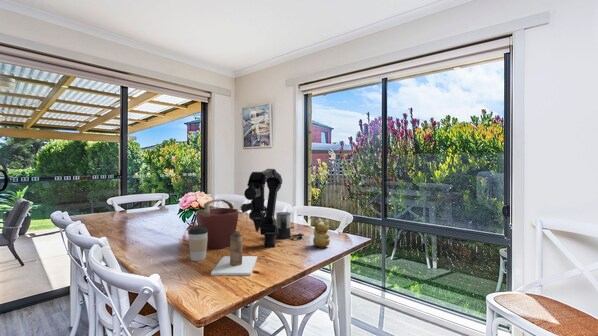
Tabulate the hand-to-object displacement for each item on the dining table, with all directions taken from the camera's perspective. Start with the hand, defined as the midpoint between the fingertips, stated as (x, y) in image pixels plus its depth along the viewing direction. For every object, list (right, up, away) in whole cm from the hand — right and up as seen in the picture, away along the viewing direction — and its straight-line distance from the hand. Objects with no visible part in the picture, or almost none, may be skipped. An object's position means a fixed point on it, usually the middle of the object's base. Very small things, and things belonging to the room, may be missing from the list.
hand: (258, 229), depth 138 cm
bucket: (-25, -13, +18) cm, 34 cm away
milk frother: (+14, -13, +33) cm, 38 cm away
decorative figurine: (+32, -13, +15) cm, 37 cm away
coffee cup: (-28, -13, -4) cm, 31 cm away
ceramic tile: (-8, -13, -14) cm, 21 cm away
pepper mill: (-8, -12, -14) cm, 20 cm away
